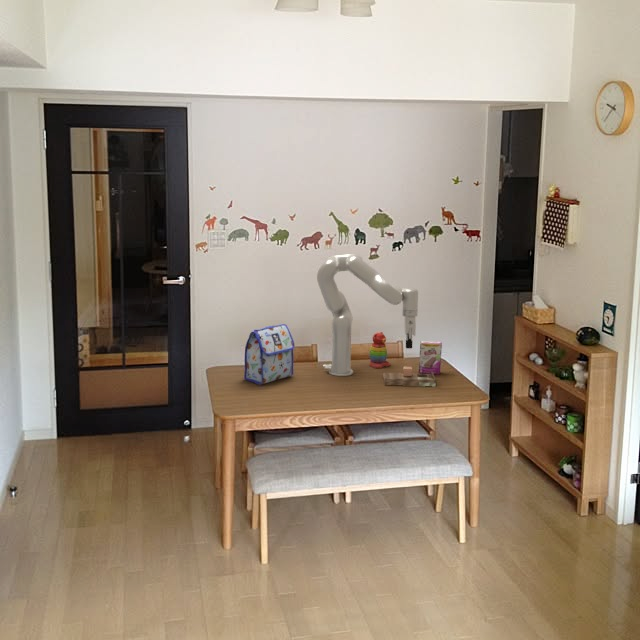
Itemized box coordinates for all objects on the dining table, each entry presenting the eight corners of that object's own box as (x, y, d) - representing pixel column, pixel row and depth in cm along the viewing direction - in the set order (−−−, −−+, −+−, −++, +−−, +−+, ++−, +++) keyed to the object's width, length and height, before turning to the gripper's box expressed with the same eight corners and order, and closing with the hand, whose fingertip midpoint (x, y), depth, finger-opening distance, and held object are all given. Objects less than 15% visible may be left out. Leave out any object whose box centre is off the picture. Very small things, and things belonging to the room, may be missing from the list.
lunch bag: (264, 387, 413) (264, 333, 407) (241, 379, 424) (241, 327, 418) (297, 377, 430) (298, 326, 424) (274, 371, 441) (274, 320, 434)
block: (403, 376, 428) (403, 368, 427) (403, 374, 432) (403, 366, 431) (411, 377, 427) (411, 369, 426) (411, 374, 431) (411, 366, 430)
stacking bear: (378, 369, 447) (379, 336, 443) (364, 365, 454) (365, 332, 450) (392, 365, 454) (393, 333, 450) (378, 361, 461) (379, 329, 457)
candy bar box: (418, 373, 440) (420, 343, 437) (418, 371, 445) (419, 340, 441) (440, 374, 439) (442, 344, 435) (440, 372, 444) (441, 341, 440)
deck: (384, 385, 419) (384, 378, 418) (383, 376, 434) (383, 370, 433) (435, 386, 419) (435, 379, 418) (432, 377, 433) (432, 371, 433)
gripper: (418, 316, 421) (417, 351, 425) (416, 309, 436) (415, 344, 440) (403, 315, 421) (402, 351, 425) (401, 309, 436) (400, 344, 440)
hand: (408, 347), depth 433 cm, fingers closed
